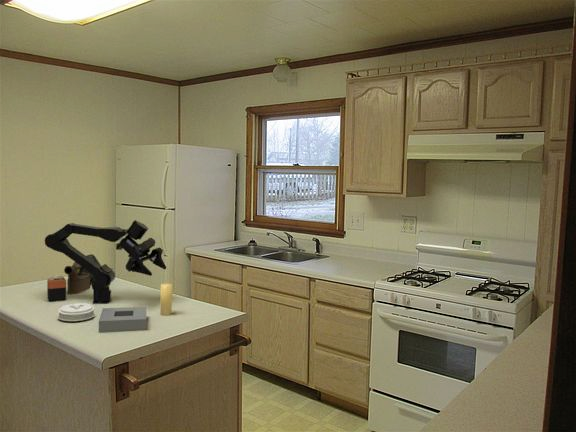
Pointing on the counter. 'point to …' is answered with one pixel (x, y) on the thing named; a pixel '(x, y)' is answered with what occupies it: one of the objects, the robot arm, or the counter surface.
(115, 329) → the socket block
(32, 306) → the counter surface
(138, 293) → the counter surface
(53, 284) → the battery
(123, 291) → the counter surface
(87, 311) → the lid
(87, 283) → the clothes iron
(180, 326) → the counter surface
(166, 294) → the plug
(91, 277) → the squash
